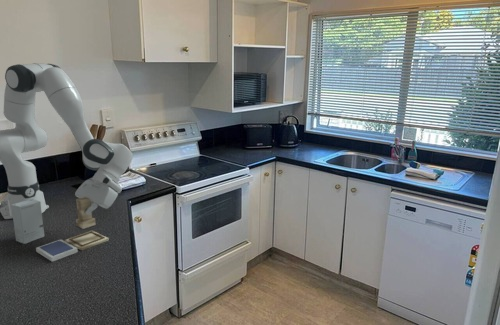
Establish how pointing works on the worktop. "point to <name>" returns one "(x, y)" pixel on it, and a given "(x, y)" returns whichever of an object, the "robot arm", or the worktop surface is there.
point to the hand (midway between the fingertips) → (82, 212)
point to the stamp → (84, 214)
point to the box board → (86, 240)
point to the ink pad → (56, 250)
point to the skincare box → (27, 221)
